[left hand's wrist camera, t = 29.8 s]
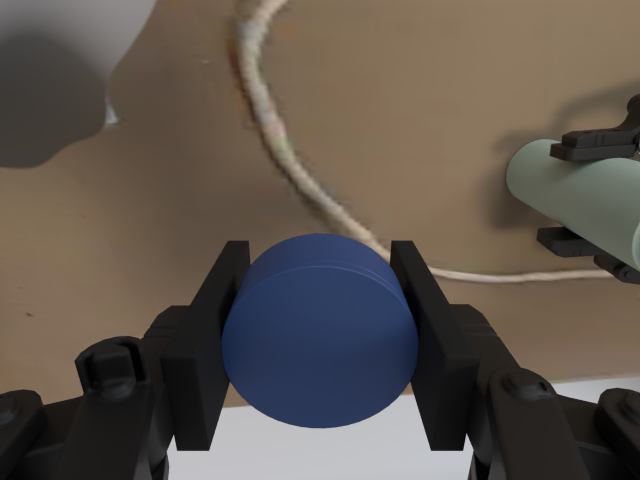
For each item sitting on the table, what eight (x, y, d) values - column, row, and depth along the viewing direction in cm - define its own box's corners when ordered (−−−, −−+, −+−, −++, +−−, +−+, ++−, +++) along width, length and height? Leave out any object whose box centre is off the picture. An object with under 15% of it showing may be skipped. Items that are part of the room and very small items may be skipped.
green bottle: (521, 132, 29) (715, 181, 15) (582, 147, 29) (827, 208, 15) (495, 194, 31) (645, 291, 16) (552, 207, 31) (746, 313, 17)
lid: (204, 314, 12) (180, 360, 10) (314, 196, 11) (312, 223, 9) (325, 399, 14) (325, 455, 12) (437, 304, 12) (461, 350, 10)
